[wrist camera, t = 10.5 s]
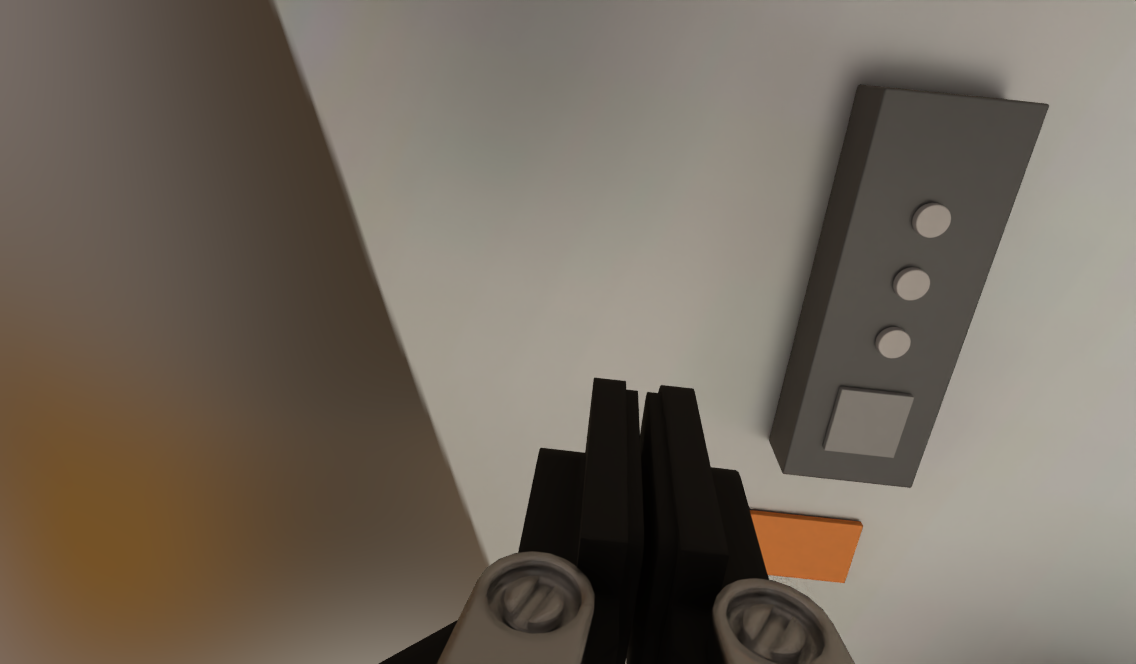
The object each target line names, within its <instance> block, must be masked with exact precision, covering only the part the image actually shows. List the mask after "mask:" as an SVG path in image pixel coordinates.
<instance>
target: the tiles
mask: <svg viewBox="0 0 1136 664" xmlns="http://www.w3.org/2000/svg"><path fill="white" fill-rule="evenodd" d="M750 513H751V517H752V520H753V524H754V528H755V531H756V535H757V538H758V542H759V546H760V549H761V553H762V556H763V560H764V564H765V567H766V571H767V575H775V576H784V577H794V578H803V579H812V580H821V581H831V582H840V583H845V580H846V577H847V574H848V571H849V568H850V565H851V562H852V558H853V555H854V552H855V549H856V546H857V543H858V540H859V537H860V534H861V531H862V528H863V525H862V523H861V522H859V521H850V520H841V519H831V518H822V517H812V516H803V515H793V514H784V513H774V512H765V511H756V510H750Z"/></svg>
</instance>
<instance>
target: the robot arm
mask: <svg viewBox="0 0 1136 664" xmlns="http://www.w3.org/2000/svg"><path fill="white" fill-rule="evenodd" d="M625 662H626V664H855V663H854V661H853V659H852V657H851V655H850V654H849V652H848V650H847V648H846V646H845V644H844V643H843V641H842V639H841V637H840V635H839V633H838V632H837V630H836V628H835V626H834V624H833V623H832V621H831V620H830V619H829V617H828V616H827V615H826V613H825V612H824V610H823V609H822V608H821V607H819V606H818V605H817V604H816V603H815V602H814V601H813V600H811V599H810V598H809V597H808V596H806V595H804V594H803V593H801V592H799V591H797V590H796V589H794V588H792V587H790V586H787V585H785V584H782V583H779V582H776V581H773V580H769V578H768V575H767V571H766V567H765V564H764V560H763V556H762V553H761V549H760V546H759V542H758V538H757V535H756V531H755V528H754V524H753V520H752V517H751V513H750V509H749V506H748V502H747V499H746V495H745V491H744V488H743V484H742V481H741V477H740V475H739V472H737V471H736V470H729V469H721V468H712V467H710V462H709V457H708V452H707V448H706V443H705V438H704V434H703V429H702V424H701V419H700V415H699V410H698V405H697V401H696V396H695V391H694V389H692V388H683V387H674V386H665V385H661V386H660V388H659V392H658V393H652V392H647V395H646V400H645V406H644V413H643V419H642V426H641V433H640V428H639V406H638V391H634V390H626V381H620V380H611V379H602V378H594V382H593V390H592V399H591V408H590V417H589V425H588V434H587V443H586V452H585V453H582V452H573V451H565V450H556V449H547V448H540V450H539V454H538V459H537V464H536V469H535V474H534V479H533V483H532V488H531V493H530V498H529V503H528V508H527V513H526V517H525V522H524V527H523V532H522V537H521V542H520V547H519V552H518V553H514V554H511V555H509V556H506V557H503V558H500V559H498V560H497V561H496V562H494V563H493V564H491V565H490V566H489V567H487V568H486V569H485V570H484V572H483V573H482V574H481V576H480V577H479V579H478V580H477V582H476V584H475V586H474V588H473V590H472V592H471V594H470V596H469V598H468V600H467V602H466V604H465V607H464V609H463V611H462V613H461V615H460V617H459V619H458V620H457V621H455V622H453V623H451V624H450V625H448V626H446V627H444V628H442V629H441V630H439V631H437V632H435V633H433V634H431V635H430V636H428V637H426V638H424V639H422V640H421V641H419V642H417V643H415V644H413V645H411V646H410V647H408V648H406V649H405V650H402V651H401V652H399V653H397V654H395V655H393V656H392V657H390V658H388V659H386V660H385V661H382V662H381V663H379V664H625Z"/></svg>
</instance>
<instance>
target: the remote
mask: <svg viewBox="0 0 1136 664" xmlns="http://www.w3.org/2000/svg"><path fill="white" fill-rule="evenodd" d="M1048 107H1049V105H1048V104H1044V103H1035V102H1026V101H1017V100H1008V99H999V98H989V97H979V96H969V95H959V94H950V93H940V92H930V91H920V90H910V89H901V88H891V87H881V86H871V85H861V84H860V85H858V88H857V92H856V96H855V100H854V104H853V108H852V112H851V116H850V120H849V124H848V128H847V132H846V136H845V140H844V144H843V148H842V152H841V156H840V160H839V164H838V168H837V172H836V176H835V180H834V184H833V188H832V192H831V196H830V200H829V204H828V208H827V212H826V216H825V220H824V224H823V227H822V231H821V235H820V239H819V243H818V247H817V251H816V255H815V259H814V263H813V267H812V271H811V275H810V279H809V283H808V287H807V291H806V295H805V299H804V303H803V307H802V311H801V315H800V319H799V323H798V327H797V331H796V335H795V339H794V343H793V347H792V351H791V355H790V359H789V363H788V367H787V371H786V375H785V379H784V383H783V387H782V391H781V395H780V399H779V403H778V407H777V411H776V415H775V419H774V423H773V427H772V431H771V435H770V439H769V442H770V444H771V446H772V449H773V451H774V454H775V456H776V458H777V461H778V463H779V466H780V468H781V470H782V473H783V474H790V475H799V476H808V477H817V478H827V479H836V480H845V481H854V482H863V483H872V484H881V485H890V486H899V487H908V488H911V487H912V484H913V481H914V478H915V475H916V473H917V470H918V467H919V464H920V462H921V459H922V456H923V453H924V451H925V448H926V445H927V442H928V440H929V437H930V434H931V431H932V428H933V426H934V423H935V420H936V417H937V415H938V412H939V409H940V406H941V404H942V401H943V398H944V395H945V392H946V390H947V387H948V384H949V381H950V379H951V376H952V373H953V370H954V368H955V365H956V362H957V359H958V356H959V354H960V351H961V348H962V345H963V343H964V340H965V337H966V334H967V332H968V329H969V326H970V323H971V321H972V318H973V315H974V312H975V309H976V307H977V304H978V301H979V298H980V296H981V293H982V290H983V287H984V285H985V282H986V279H987V276H988V273H989V271H990V268H991V265H992V262H993V260H994V257H995V254H996V251H997V249H998V246H999V243H1000V240H1001V237H1002V235H1003V232H1004V229H1005V226H1006V224H1007V221H1008V218H1009V215H1010V213H1011V210H1012V207H1013V204H1014V202H1015V199H1016V196H1017V193H1018V190H1019V188H1020V185H1021V182H1022V179H1023V177H1024V174H1025V171H1026V168H1027V166H1028V163H1029V160H1030V157H1031V154H1032V152H1033V149H1034V146H1035V143H1036V141H1037V138H1038V135H1039V132H1040V130H1041V127H1042V124H1043V121H1044V118H1045V116H1046V113H1047V110H1048Z"/></svg>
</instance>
